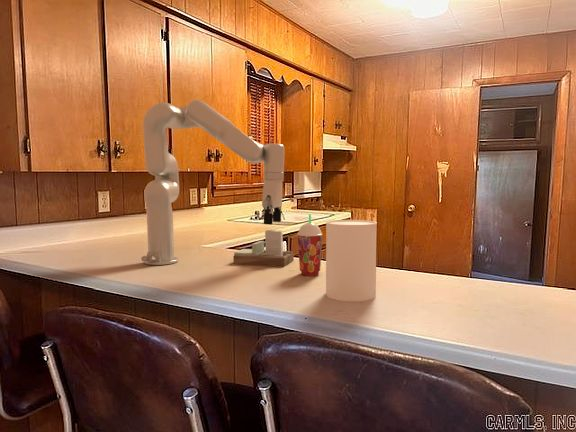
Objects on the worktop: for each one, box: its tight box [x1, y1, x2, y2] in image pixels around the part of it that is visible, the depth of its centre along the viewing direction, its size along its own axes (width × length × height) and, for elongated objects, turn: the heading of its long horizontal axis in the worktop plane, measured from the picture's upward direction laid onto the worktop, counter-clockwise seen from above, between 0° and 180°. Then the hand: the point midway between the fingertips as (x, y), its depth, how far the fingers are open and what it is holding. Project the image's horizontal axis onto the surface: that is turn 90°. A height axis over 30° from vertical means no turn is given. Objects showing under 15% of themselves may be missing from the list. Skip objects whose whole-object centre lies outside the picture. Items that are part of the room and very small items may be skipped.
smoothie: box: [296, 213, 323, 277], centre depth 142 cm, size 8×8×20 cm
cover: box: [233, 240, 265, 255], centre depth 164 cm, size 9×9×4 cm
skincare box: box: [264, 229, 284, 256], centre depth 161 cm, size 6×4×12 cm
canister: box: [325, 219, 378, 303], centre depth 117 cm, size 14×14×20 cm
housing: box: [232, 249, 295, 268], centre depth 163 cm, size 12×20×4 cm, turn 73°
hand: (272, 223), depth 160 cm, fingers open, 9 cm apart
